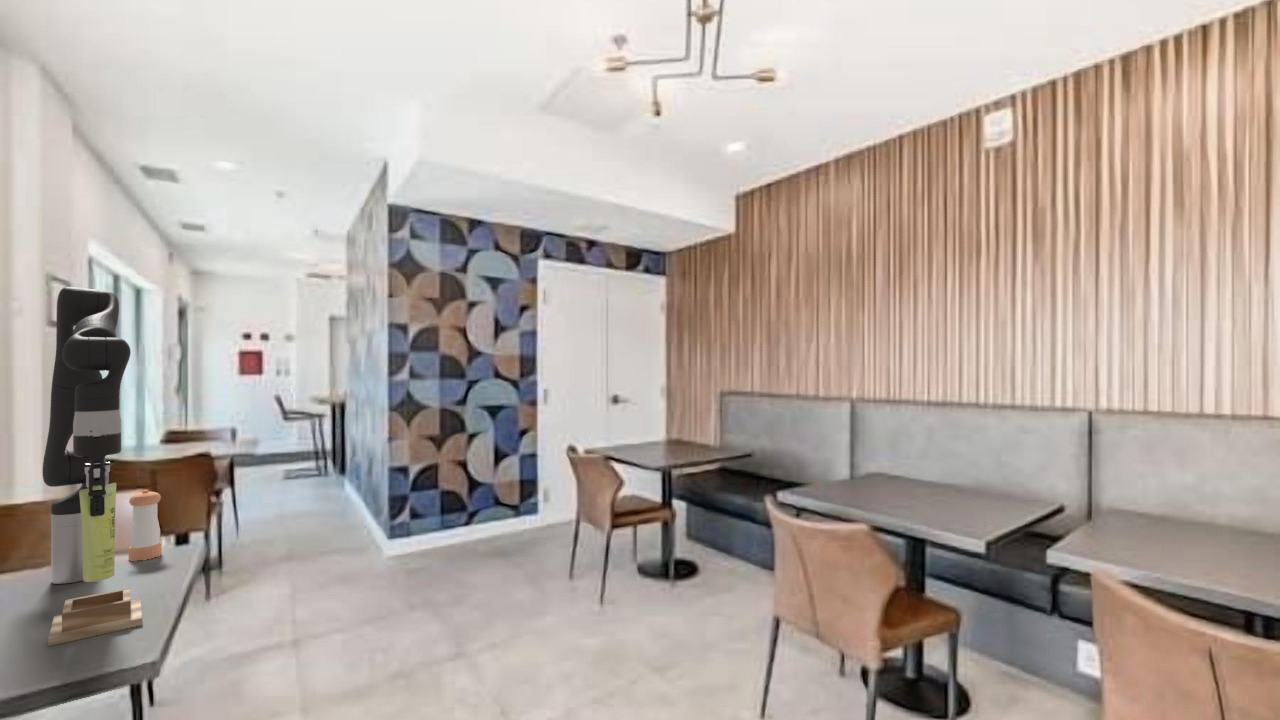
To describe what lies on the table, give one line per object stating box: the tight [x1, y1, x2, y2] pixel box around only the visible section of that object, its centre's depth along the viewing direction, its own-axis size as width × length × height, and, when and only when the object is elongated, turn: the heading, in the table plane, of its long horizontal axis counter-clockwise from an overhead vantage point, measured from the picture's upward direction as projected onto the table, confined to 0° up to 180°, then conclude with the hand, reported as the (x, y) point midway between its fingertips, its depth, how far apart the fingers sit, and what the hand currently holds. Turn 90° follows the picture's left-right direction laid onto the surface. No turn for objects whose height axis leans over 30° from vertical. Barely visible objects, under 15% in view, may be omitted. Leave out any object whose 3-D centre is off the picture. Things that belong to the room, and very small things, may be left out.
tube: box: [79, 482, 117, 583], centre depth 127 cm, size 6×5×20 cm
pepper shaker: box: [128, 489, 163, 562], centre depth 172 cm, size 7×7×19 cm
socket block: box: [47, 587, 143, 647], centre depth 126 cm, size 14×14×5 cm
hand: (97, 512), depth 127 cm, fingers closed on tube, 4 cm apart
